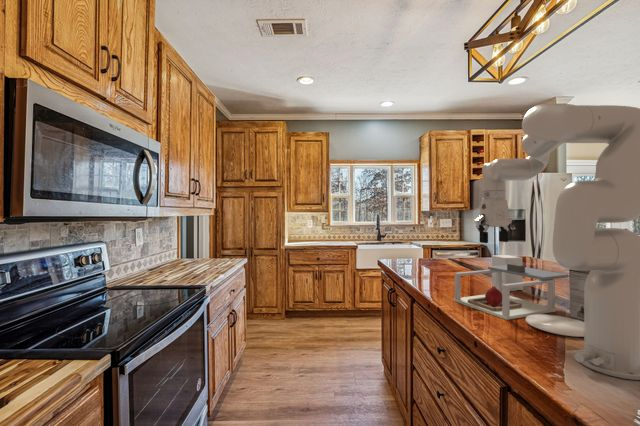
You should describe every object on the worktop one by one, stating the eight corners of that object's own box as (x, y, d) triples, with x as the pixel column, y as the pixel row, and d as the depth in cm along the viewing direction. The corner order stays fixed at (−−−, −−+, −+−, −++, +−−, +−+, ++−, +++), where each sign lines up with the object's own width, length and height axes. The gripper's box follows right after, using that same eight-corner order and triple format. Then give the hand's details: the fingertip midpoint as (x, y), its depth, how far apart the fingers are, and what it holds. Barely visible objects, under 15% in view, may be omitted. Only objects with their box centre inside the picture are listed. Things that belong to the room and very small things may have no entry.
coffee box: (588, 313, 107) (588, 267, 107) (610, 320, 101) (610, 270, 101) (568, 316, 105) (568, 268, 104) (589, 322, 98) (589, 272, 98)
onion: (505, 310, 111) (505, 287, 111) (488, 309, 113) (488, 287, 113) (499, 305, 117) (499, 284, 117) (483, 304, 118) (483, 283, 118)
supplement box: (523, 290, 138) (523, 257, 138) (505, 291, 137) (505, 257, 137) (508, 286, 147) (508, 254, 147) (491, 286, 146) (491, 255, 146)
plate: (571, 342, 84) (571, 338, 84) (513, 321, 100) (513, 318, 100) (610, 333, 90) (610, 329, 90) (549, 315, 106) (549, 311, 106)
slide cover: (543, 280, 108) (543, 270, 108) (488, 269, 129) (487, 260, 129) (568, 277, 112) (567, 267, 112) (510, 267, 133) (510, 258, 133)
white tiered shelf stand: (506, 319, 101) (506, 285, 101) (453, 301, 123) (453, 272, 123) (556, 311, 110) (555, 279, 110) (498, 295, 131) (498, 268, 131)
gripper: (484, 195, 108) (484, 244, 108) (520, 195, 114) (520, 242, 114) (467, 196, 115) (467, 242, 115) (501, 196, 121) (501, 240, 121)
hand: (493, 242), depth 115 cm, fingers open, 9 cm apart
